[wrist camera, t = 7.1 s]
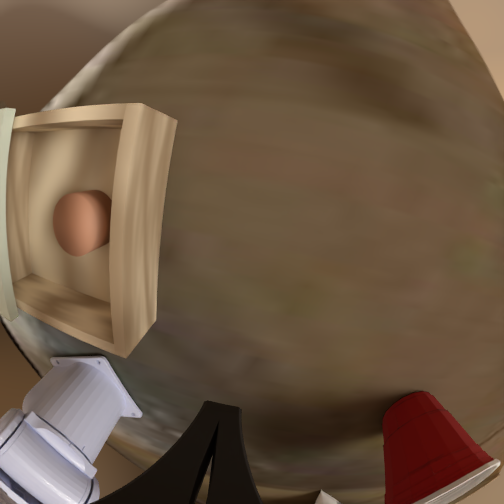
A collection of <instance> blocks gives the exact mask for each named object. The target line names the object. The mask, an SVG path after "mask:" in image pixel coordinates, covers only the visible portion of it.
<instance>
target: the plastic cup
mask: <svg viewBox="0 0 504 504" xmlns="http://www.w3.org/2000/svg"><path fill="white" fill-rule="evenodd" d="M382 428H383V437H384V445H383V448H384V462H385V486H386V494H385V504H447V503H449V502H451V501H453V500H454V499H456V498H458V497H459V496H461V495H463V494H464V493H466V492H467V491H469V490H470V489H472V488H473V487H474V486H476V485H477V484H479V483H480V482H481V481H483V480H484V479H485V478H486V477H487V476H489V475H490V474H491V473H492V472H493V471H494V470H495V469H496V468H497V467H498V466H499V465H500V461H499V460H498V459H495V460H494V459H493V458H491V457H490V456H488V454H487V453H486V452H485V451H483V450H482V449H481V447H480V446H479V445H478V444H476V443H475V442H474V441H473V439H472V438H471V437H470V436H469V435H468V434H467V432H466V431H465V430H464V429H463V428H462V427H461V425H460V424H459V423H458V422H457V421H456V420H455V418H454V417H453V416H452V415H451V414H450V413H449V412H448V410H445V409H444V407H443V406H442V405H441V404H440V403H439V402H438V401H437V399H436V398H435V397H434V396H433V395H431V394H430V393H429V392H424V391H421V392H416V393H412V394H410V395H408V396H405V397H403V398H401V399H400V400H399V401H397V402H396V403H394V404H393V405H392V406H391V407H390V408H389V409H388V410H387V411H386V413H385V415H384V417H383V423H382Z"/></svg>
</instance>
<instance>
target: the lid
mask: <svg viewBox="0 0 504 504" xmlns="http://www.w3.org/2000/svg"><path fill="white" fill-rule="evenodd" d="M15 110H16V109H11V108H3V109H0V315H2V316H3V317H5V318H6V319H8V320H9V321H13V320H14V319H16V318H17V317H18V316H19V315H18V310H17V306H16V301H15V296H14V291H13V285H12V279H11V273H10V265H9V257H8V247H7V233H6V178H7V164H8V154H9V146H10V139H11V132H12V126H13V121H14V116H15Z"/></svg>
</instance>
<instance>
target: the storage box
mask: <svg viewBox="0 0 504 504" xmlns="http://www.w3.org/2000/svg"><path fill="white" fill-rule="evenodd" d="M176 126H177V120H175V119H173V118H171V117H169V116H167V115H165V114H163V113H161V112H159V111H157V110H155V109H152V108H150V107H148V106H146V105H144V104H142V103H125V104H104V105H91V106H80V107H71V108H63V109H56V110H50V111H43V112H38V113H32V114H27V115H23V116H18V117H14V121H13V126H12V132H11V139H10V146H9V154H8V164H7V178H6V233H7V247H8V257H9V265H10V273H11V279H12V285H13V291H14V296H15V301H16V306H17V307H18V308H20V309H21V310H23V311H25V312H27V313H28V314H30V315H32V316H34V317H36V318H37V319H39V320H41V321H43V322H45V323H47V324H49V325H51V326H53V327H55V328H57V329H59V330H61V331H63V332H65V333H67V334H69V335H71V336H73V337H75V338H78V339H80V340H82V341H84V342H87V343H89V344H91V345H94V346H96V347H98V348H101V349H103V350H106V351H108V352H111V353H113V354H116V355H118V356H121V357H124V358H127V357H128V356H129V354H130V353H131V352H132V350H133V349H134V348H135V346H136V345H137V344H138V343H139V341H140V340H141V339H142V337H143V336H144V335H145V334H146V332H147V331H148V330H149V328H150V327H151V326H152V325H153V323H154V322H155V321H156V306H157V281H158V264H159V250H160V239H161V228H162V218H163V209H164V201H165V193H166V186H167V179H168V172H169V166H170V159H171V153H172V148H173V142H174V137H175V131H176Z"/></svg>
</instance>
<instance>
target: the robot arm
mask: <svg viewBox="0 0 504 504" xmlns="http://www.w3.org/2000/svg"><path fill="white" fill-rule="evenodd" d="M50 361H51V363H52V365H53V366H54V367H53V368H52V369H51V370H50V371H49V372H48V373H47V374H46V375H45V376H44V377H43V378H42V379H41V380H40V381H39V382H38V383H37V384H36V385H35V386H34V387H33V388H32V389H31V390H30V391H29V392H28V393H27V395H26V396H25V398H24V401H23V412H22V411H21V409H14V408H12V409H10V410H9V411H8V412H7V413H6V414H5V415H4V416H3V417H2V418H1V419H0V504H195V502H196V499H197V496H198V493H199V490H200V487H201V485H202V482H203V479H204V477H205V474H206V471H207V468H208V466H209V463H210V460H211V457H212V455H213V457H212V465H211V473H210V482H209V490H208V497H207V501H206V504H263V502H262V500H261V498H260V496H259V493H258V491H257V488H256V486H255V483H254V480H253V477H252V474H251V471H250V467H249V464H248V460H247V456H246V451H245V446H244V441H243V434H242V424H241V411H242V410H241V409H240V408H239V407H235V406H230V405H225V404H220V403H216V402H212V401H205V402H204V404H203V406H202V408H201V409H200V411H199V413H198V414H197V416H196V417H195V419H194V420H193V422H192V423H191V425H190V426H189V427H188V429H187V430H186V431H185V432H184V433H183V435H182V436H181V437H180V438H179V440H178V441H177V442H176V443H175V444H174V445H173V446H172V447H171V448H170V449H169V450H168V451H167V452H166V453H165V454H164V455H163V456H162V457H161V458H160V459H159V460H158V461H157V462H156V463H155V464H153V465H152V466H151V467H150V468H149V469H147V470H146V471H145V472H144V473H142V474H141V475H140V476H138V477H137V478H135V479H134V480H133V481H131V482H130V483H128V484H127V485H125V486H123V487H122V488H120V489H118V490H116V491H115V492H113V493H111V494H109V495H107V496H105V497H103V498H101V499H99V495H100V490H99V483H98V480H97V479H96V478H95V477H94V475H95V473H96V472H97V469H96V468H95V467H93V466H92V464H93V462H94V460H95V459H96V457H97V455H98V453H99V452H100V450H101V448H102V446H103V445H104V443H105V441H106V440H107V438H108V436H109V435H110V433H111V431H112V430H113V428H114V426H115V425H116V423H117V421H118V420H119V418H120V416H127V417H141V416H142V412H141V411H140V409H139V408H138V407H137V405H136V404H135V402H134V401H133V400H132V398H131V397H130V395H129V394H128V392H127V391H126V389H125V388H124V386H123V385H122V383H121V382H120V380H119V379H118V377H117V375H116V374H115V372H114V371H113V369H112V367H111V366H110V364H109V362H108V360H107V359H106V358H105V357H104V356H81V357H52V358H51V359H50Z"/></svg>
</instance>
